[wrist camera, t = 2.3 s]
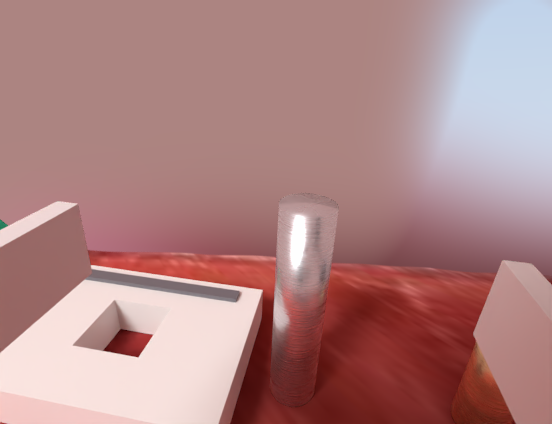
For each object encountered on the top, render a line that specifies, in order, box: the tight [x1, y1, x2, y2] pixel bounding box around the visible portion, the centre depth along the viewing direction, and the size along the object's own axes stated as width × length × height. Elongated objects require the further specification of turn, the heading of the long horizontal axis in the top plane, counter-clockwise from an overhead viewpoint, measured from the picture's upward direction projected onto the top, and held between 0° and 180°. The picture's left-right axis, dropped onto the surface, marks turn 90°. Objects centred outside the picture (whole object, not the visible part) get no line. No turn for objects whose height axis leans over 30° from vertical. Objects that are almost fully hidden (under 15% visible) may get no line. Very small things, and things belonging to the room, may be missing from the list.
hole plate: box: [0, 265, 263, 424], centre depth 28 cm, size 20×14×4 cm
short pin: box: [451, 341, 513, 424], centre depth 24 cm, size 4×4×9 cm
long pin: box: [270, 193, 339, 407], centre depth 24 cm, size 4×4×16 cm
